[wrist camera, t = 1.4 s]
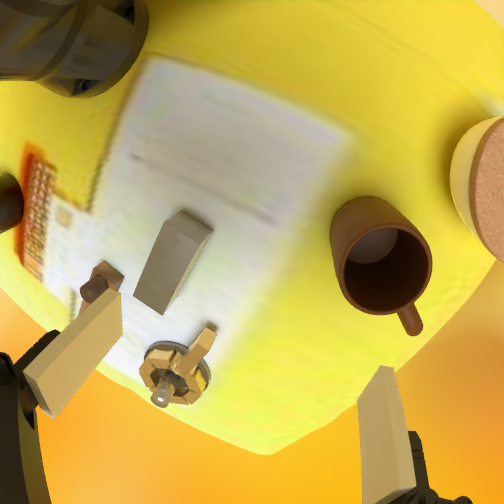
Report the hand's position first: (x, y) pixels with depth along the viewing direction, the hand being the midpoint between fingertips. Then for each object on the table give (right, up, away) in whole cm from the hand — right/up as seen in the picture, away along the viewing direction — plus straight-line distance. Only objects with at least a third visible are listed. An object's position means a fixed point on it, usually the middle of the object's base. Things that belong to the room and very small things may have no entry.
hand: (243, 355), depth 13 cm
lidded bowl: (+24, +13, +10) cm, 29 cm away
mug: (+13, +5, +15) cm, 21 cm away
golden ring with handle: (-9, -10, +24) cm, 28 cm away
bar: (-8, +4, +20) cm, 22 cm away
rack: (-22, -3, +25) cm, 34 cm away
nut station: (-10, -12, +27) cm, 31 cm away
